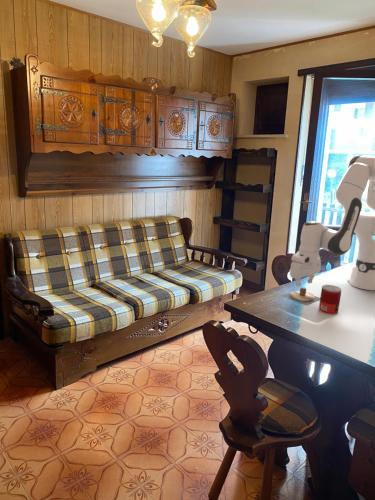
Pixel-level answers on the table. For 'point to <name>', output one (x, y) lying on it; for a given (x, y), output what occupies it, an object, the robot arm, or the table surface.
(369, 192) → the robot arm
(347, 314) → the table surface
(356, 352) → the table surface
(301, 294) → the lid
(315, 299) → the mat
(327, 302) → the canned food
